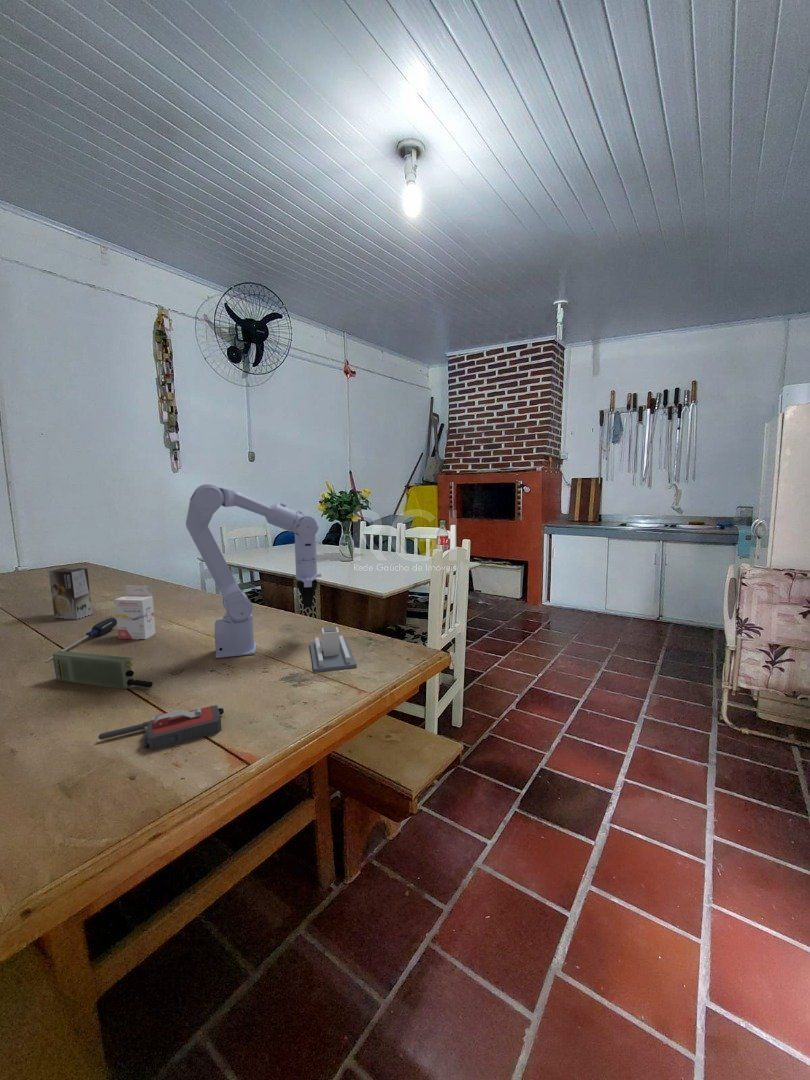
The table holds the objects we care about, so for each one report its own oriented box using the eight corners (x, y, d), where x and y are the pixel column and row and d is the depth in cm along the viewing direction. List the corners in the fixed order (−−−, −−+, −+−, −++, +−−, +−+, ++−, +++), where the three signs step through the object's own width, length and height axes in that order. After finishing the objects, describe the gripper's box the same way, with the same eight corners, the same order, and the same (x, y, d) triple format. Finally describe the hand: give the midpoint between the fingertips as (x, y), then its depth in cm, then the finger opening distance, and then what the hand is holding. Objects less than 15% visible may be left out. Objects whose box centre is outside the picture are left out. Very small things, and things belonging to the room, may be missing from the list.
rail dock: (313, 672, 104) (313, 662, 104) (309, 645, 121) (309, 637, 121) (356, 667, 107) (356, 658, 106) (346, 641, 124) (346, 633, 124)
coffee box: (93, 614, 152) (88, 567, 150) (77, 620, 145) (71, 571, 143) (70, 613, 153) (65, 567, 151) (53, 618, 147) (47, 571, 145)
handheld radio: (67, 675, 104) (157, 686, 98) (53, 682, 101) (145, 693, 95) (63, 648, 103) (154, 657, 97) (49, 654, 100) (142, 664, 94)
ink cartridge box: (117, 639, 127) (112, 589, 125) (129, 633, 132) (124, 584, 130) (145, 640, 126) (140, 589, 124) (156, 634, 131) (152, 585, 129)
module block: (323, 656, 111) (322, 632, 111) (322, 650, 115) (321, 627, 114) (339, 654, 112) (339, 631, 112) (337, 649, 116) (337, 626, 115)
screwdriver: (52, 663, 111) (50, 648, 111) (38, 663, 111) (36, 648, 111) (120, 628, 137) (119, 616, 137) (108, 628, 137) (107, 616, 137)
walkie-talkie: (222, 711, 88) (99, 741, 78) (220, 689, 87) (97, 717, 77) (229, 732, 80) (94, 769, 70) (227, 709, 80) (91, 743, 70)
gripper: (322, 562, 117) (324, 612, 119) (318, 554, 131) (320, 599, 133) (295, 564, 115) (297, 615, 117) (294, 555, 129) (296, 600, 131)
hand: (307, 606), depth 125 cm, fingers closed
